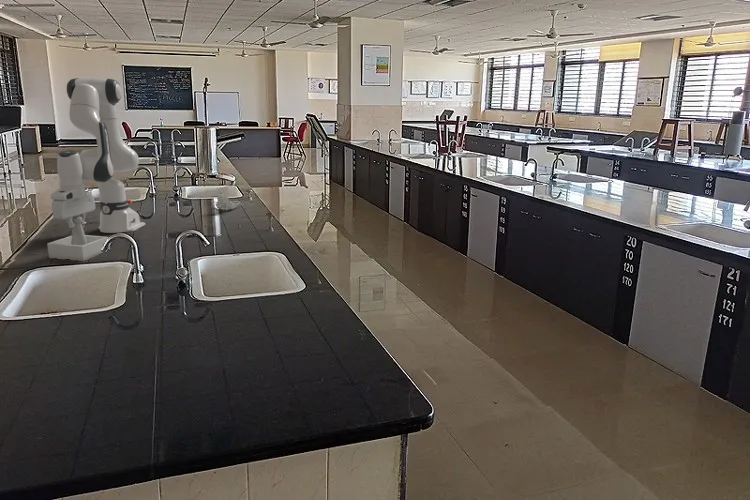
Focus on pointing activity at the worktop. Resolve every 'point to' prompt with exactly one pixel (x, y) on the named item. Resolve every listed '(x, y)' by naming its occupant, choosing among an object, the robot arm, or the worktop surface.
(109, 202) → the robot arm
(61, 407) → the worktop surface
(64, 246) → the box
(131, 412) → the worktop surface
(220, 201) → the skeletal model
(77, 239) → the salt shaker
